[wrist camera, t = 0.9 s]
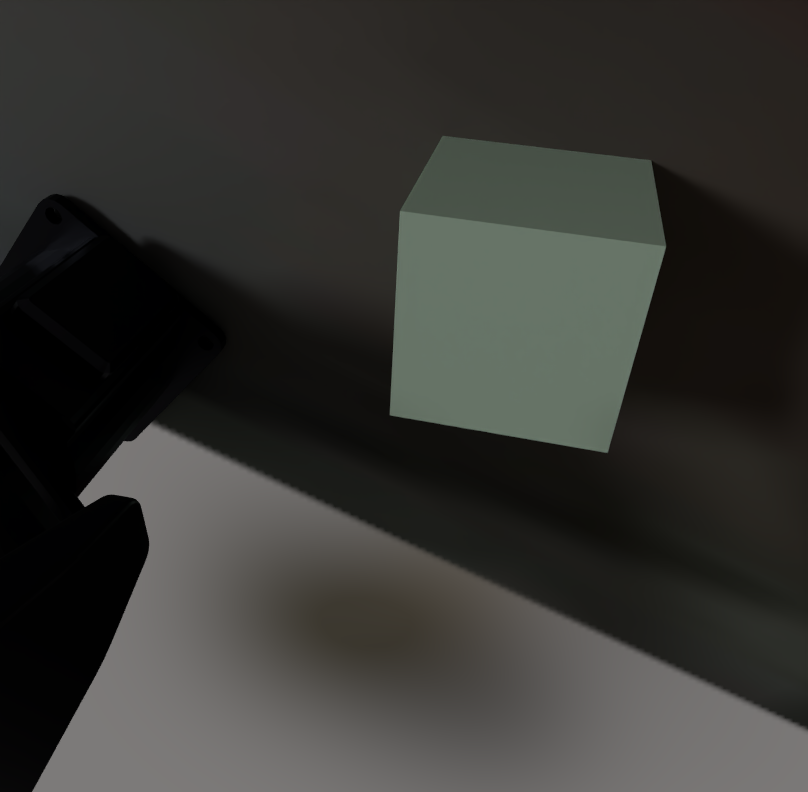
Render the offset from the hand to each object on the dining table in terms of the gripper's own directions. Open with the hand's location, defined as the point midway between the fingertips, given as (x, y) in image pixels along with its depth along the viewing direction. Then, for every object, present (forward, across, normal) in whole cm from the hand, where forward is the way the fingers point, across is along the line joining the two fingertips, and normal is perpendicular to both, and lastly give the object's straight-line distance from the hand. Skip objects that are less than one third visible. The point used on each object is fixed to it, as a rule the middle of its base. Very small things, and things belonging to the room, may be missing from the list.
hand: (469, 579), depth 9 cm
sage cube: (+12, 0, +1) cm, 12 cm away
